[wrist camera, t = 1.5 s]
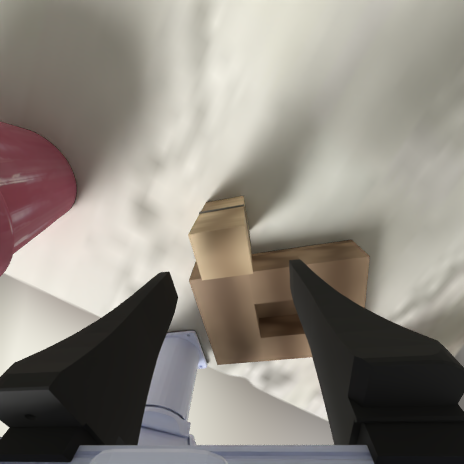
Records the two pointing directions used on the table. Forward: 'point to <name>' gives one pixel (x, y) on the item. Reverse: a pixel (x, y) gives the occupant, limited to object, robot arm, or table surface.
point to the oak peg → (222, 239)
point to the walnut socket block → (273, 301)
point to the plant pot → (30, 188)
